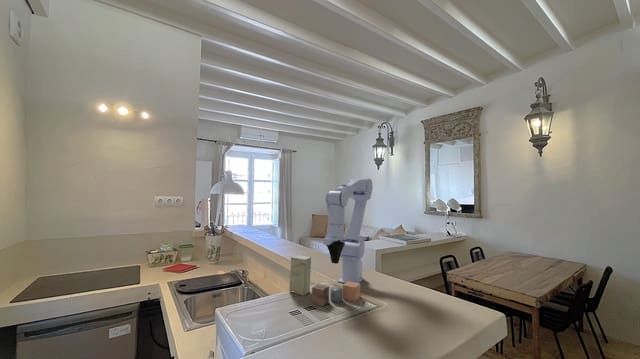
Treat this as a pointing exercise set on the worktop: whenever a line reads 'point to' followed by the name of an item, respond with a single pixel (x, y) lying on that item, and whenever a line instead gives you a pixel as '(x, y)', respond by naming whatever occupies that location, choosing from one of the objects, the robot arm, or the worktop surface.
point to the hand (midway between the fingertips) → (335, 262)
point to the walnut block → (320, 294)
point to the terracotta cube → (351, 291)
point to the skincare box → (300, 274)
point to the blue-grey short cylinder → (336, 294)
